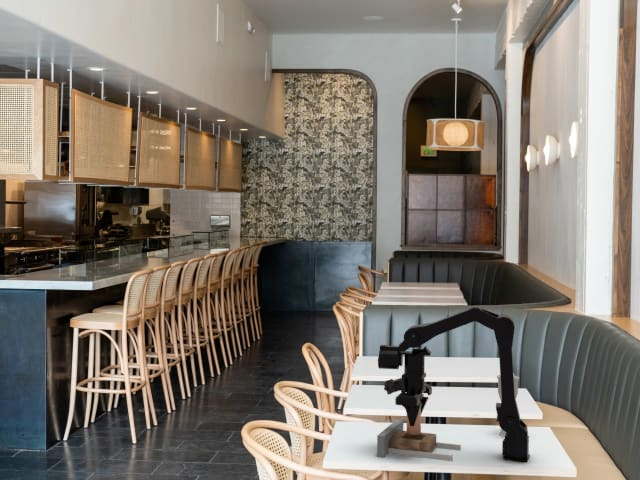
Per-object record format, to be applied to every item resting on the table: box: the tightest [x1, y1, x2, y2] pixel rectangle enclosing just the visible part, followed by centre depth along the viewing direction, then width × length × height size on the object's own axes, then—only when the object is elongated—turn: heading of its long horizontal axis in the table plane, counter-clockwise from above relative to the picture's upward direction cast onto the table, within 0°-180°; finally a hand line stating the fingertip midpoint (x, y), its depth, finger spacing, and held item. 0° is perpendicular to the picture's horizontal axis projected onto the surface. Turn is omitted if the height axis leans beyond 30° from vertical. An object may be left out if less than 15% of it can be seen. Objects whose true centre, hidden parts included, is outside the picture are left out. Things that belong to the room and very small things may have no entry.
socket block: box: [390, 430, 437, 453], centre depth 232 cm, size 11×10×4 cm
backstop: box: [376, 419, 462, 462], centre depth 231 cm, size 20×20×6 cm
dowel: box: [406, 402, 422, 435], centre depth 232 cm, size 4×4×9 cm
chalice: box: [496, 374, 520, 438], centre depth 250 cm, size 7×7×18 cm
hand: (414, 424), depth 232 cm, fingers closed on dowel, 4 cm apart
